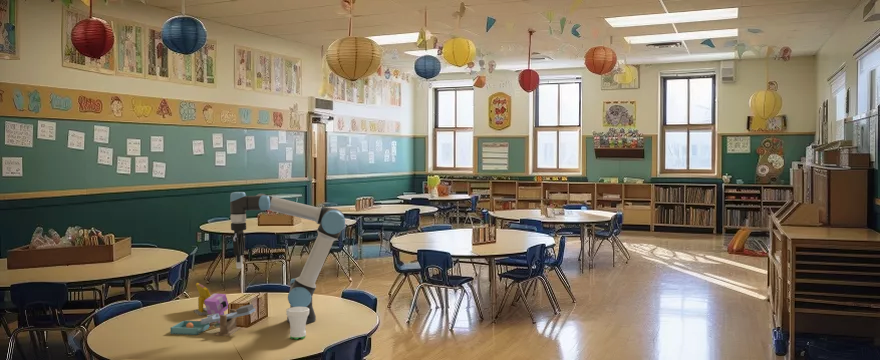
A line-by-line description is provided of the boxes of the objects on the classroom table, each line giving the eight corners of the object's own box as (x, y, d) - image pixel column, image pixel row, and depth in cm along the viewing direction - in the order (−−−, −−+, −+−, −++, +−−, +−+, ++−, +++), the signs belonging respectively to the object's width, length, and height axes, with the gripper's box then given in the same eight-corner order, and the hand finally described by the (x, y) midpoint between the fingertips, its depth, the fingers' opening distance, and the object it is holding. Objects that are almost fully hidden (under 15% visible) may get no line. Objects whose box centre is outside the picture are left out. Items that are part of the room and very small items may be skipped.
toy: (234, 318, 368) (227, 294, 364) (224, 326, 362) (217, 302, 357) (219, 317, 373) (212, 293, 368) (209, 325, 366) (202, 300, 362)
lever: (256, 310, 350) (254, 303, 350) (248, 315, 339) (247, 307, 339) (208, 320, 352) (207, 313, 352) (200, 325, 342) (198, 318, 342)
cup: (298, 342, 329) (298, 313, 328) (281, 338, 335) (281, 310, 334) (314, 336, 338) (314, 308, 338) (297, 333, 344) (297, 305, 344)
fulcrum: (240, 328, 353) (240, 309, 352) (229, 336, 339) (229, 316, 338) (227, 328, 353) (227, 308, 353) (215, 335, 340) (215, 315, 339)
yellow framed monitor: (215, 315, 380) (215, 287, 379) (201, 317, 375) (200, 288, 375) (205, 308, 396) (205, 281, 396) (191, 310, 392) (191, 282, 391)
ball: (195, 326, 350) (192, 320, 350) (192, 328, 346) (189, 322, 346) (190, 329, 350) (186, 323, 350) (187, 331, 346) (183, 325, 346)
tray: (209, 327, 354) (209, 321, 354) (197, 334, 340) (197, 328, 340) (183, 326, 356) (183, 320, 356) (170, 334, 342) (170, 327, 342)
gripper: (236, 220, 355) (237, 265, 357) (226, 223, 342) (227, 270, 344) (250, 220, 355) (251, 266, 356) (240, 223, 342) (241, 270, 343)
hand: (239, 268), depth 350 cm, fingers closed
